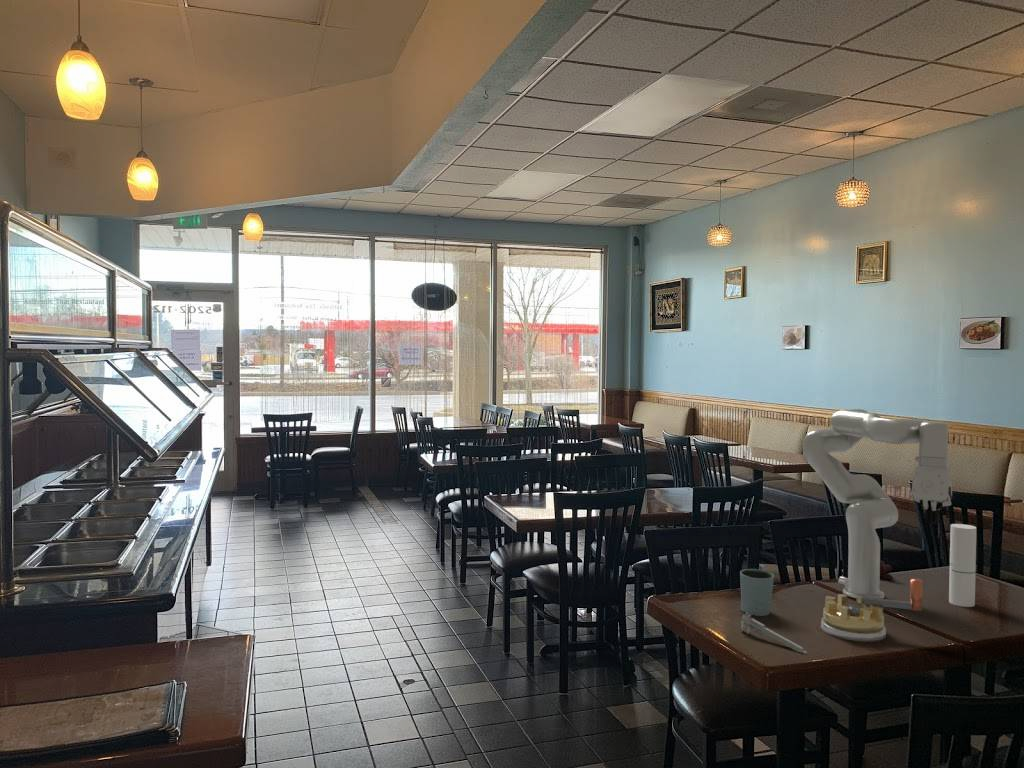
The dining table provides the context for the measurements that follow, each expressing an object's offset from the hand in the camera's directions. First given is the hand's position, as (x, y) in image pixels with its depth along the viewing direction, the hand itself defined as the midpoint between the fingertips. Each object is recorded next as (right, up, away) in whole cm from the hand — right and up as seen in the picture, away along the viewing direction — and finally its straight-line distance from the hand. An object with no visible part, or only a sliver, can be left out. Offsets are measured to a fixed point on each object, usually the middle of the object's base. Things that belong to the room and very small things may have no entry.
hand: (931, 522), depth 227 cm
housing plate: (-29, -29, -10) cm, 42 cm away
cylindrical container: (+18, -29, +15) cm, 37 cm away
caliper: (-55, -30, -19) cm, 65 cm away
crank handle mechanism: (-25, -27, -12) cm, 39 cm away
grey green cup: (-51, -29, +6) cm, 59 cm away
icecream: (+5, -28, +46) cm, 54 cm away
